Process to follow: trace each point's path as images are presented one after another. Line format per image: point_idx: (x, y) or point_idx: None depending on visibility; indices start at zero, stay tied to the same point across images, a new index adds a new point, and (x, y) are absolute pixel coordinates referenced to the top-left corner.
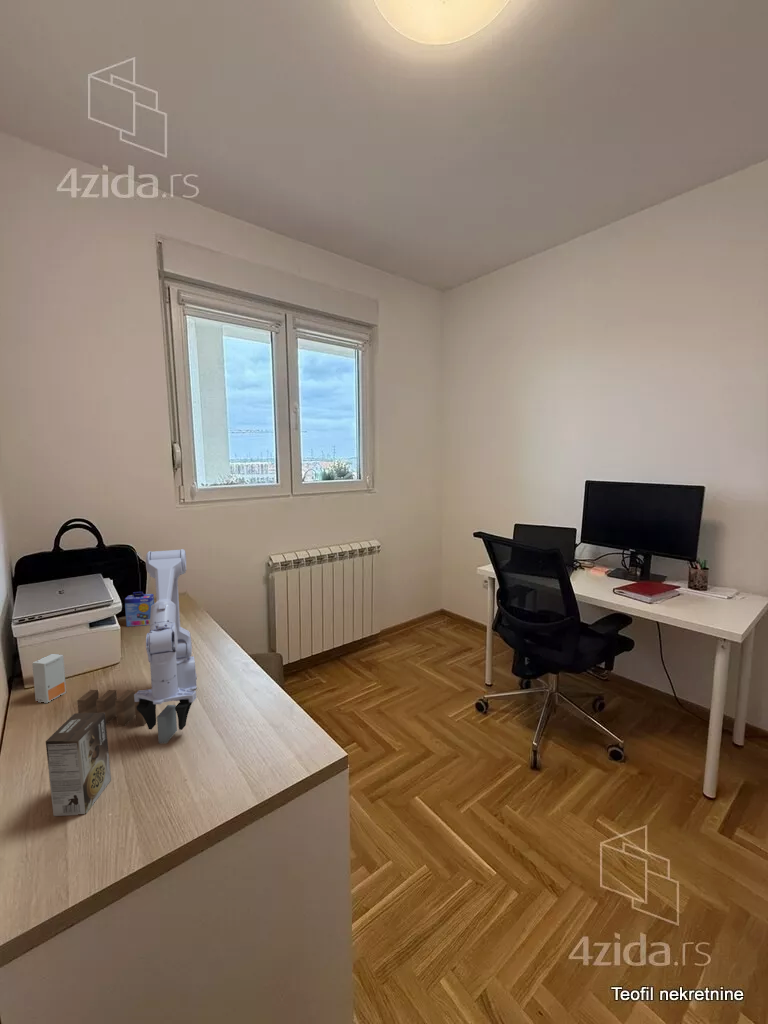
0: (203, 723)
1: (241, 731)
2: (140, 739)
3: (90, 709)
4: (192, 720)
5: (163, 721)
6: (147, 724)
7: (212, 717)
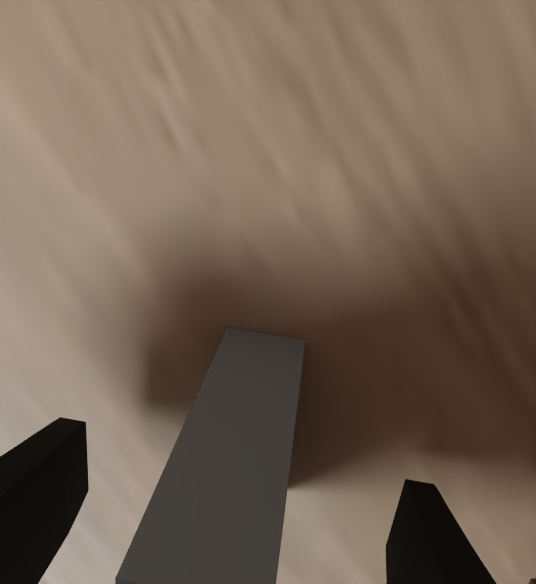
0: None
1: None
2: (505, 419)
3: None
4: None
5: (180, 511)
6: (458, 534)
7: None
